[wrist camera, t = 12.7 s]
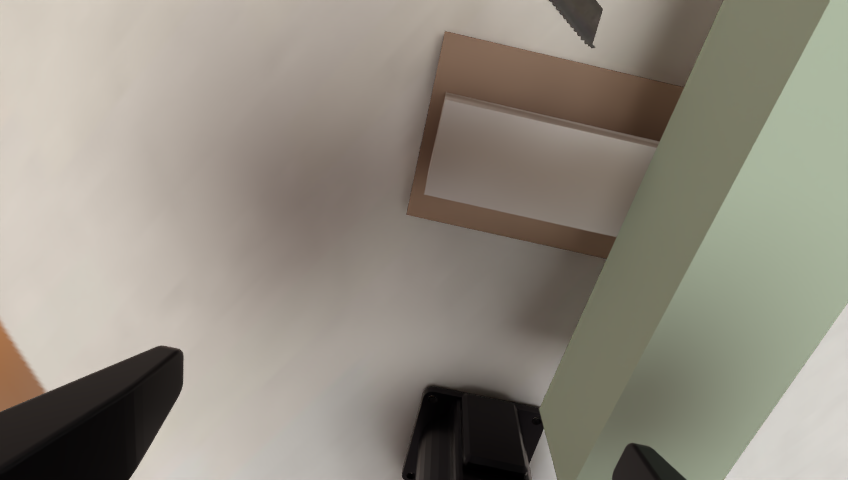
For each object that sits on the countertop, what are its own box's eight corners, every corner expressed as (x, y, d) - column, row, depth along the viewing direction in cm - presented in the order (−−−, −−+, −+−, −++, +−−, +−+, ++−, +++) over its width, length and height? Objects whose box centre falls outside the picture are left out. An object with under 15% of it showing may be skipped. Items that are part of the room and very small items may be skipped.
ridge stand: (796, 289, 20) (898, 356, 16) (409, 204, 20) (397, 247, 15) (886, 137, 18) (1040, 163, 13) (445, 33, 17) (444, 23, 13)
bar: (636, 433, 18) (687, 532, 14) (539, 409, 17) (563, 503, 14) (946, -111, 11) (1198, -198, 7) (794, -158, 11) (975, -273, 7)
